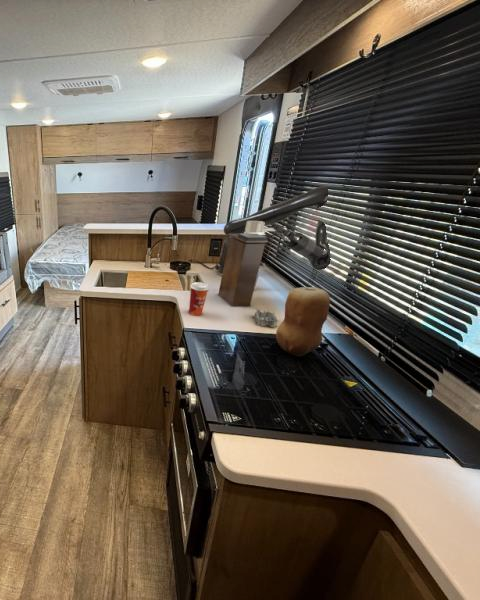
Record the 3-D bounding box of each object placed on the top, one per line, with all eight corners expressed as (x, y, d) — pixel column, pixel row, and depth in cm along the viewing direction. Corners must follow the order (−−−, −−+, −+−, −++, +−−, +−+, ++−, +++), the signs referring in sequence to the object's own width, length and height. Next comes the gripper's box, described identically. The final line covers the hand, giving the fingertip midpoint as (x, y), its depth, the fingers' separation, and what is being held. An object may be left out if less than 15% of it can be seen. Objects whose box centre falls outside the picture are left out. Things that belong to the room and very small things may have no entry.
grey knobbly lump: (252, 315, 139) (254, 307, 137) (271, 317, 136) (273, 309, 135) (257, 325, 129) (259, 317, 128) (277, 328, 127) (279, 319, 125)
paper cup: (195, 318, 136) (200, 289, 131) (183, 311, 142) (187, 283, 137) (208, 314, 139) (213, 285, 134) (195, 308, 146) (199, 280, 140)
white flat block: (289, 232, 134) (292, 222, 132) (250, 232, 133) (252, 223, 132) (279, 229, 140) (282, 220, 138) (242, 229, 139) (243, 220, 138)
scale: (237, 237, 141) (238, 233, 141) (258, 236, 142) (259, 233, 141) (246, 240, 134) (247, 237, 133) (269, 240, 134) (270, 236, 134)
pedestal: (216, 294, 161) (228, 233, 149) (235, 293, 162) (248, 233, 149) (231, 306, 147) (245, 240, 134) (251, 306, 147) (268, 240, 134)
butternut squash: (274, 339, 120) (291, 278, 109) (316, 350, 112) (338, 286, 102) (269, 355, 109) (288, 290, 99) (315, 368, 102) (340, 300, 92)
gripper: (296, 234, 145) (270, 216, 141) (318, 240, 132) (290, 220, 128) (285, 247, 147) (258, 230, 143) (305, 255, 135) (277, 236, 131)
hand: (273, 226), depth 136 cm, fingers closed on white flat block, 2 cm apart
